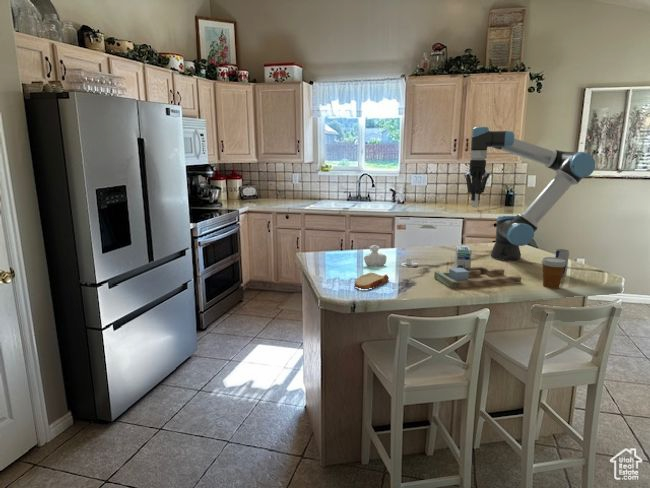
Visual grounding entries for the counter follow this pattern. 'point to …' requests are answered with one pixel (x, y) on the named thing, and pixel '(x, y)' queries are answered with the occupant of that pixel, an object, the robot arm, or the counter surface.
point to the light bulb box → (463, 256)
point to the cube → (458, 274)
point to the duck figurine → (375, 257)
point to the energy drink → (563, 255)
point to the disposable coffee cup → (552, 271)
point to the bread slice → (370, 280)
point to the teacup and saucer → (409, 262)
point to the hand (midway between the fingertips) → (474, 207)
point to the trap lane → (475, 272)
